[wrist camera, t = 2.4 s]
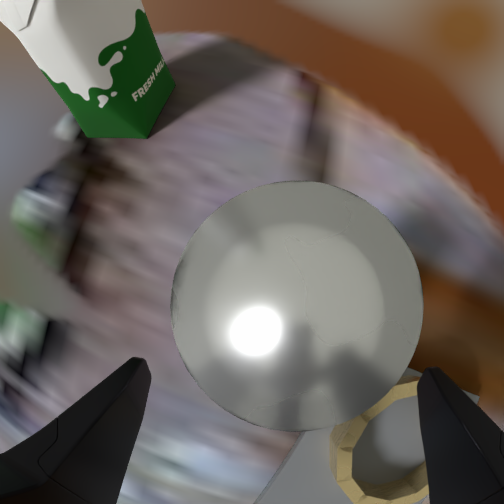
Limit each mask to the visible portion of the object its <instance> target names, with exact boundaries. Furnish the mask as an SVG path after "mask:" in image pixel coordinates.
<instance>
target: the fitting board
mask: <svg viewBox="0 0 504 504" xmlns="http://www.w3.org/2000/svg"><path fill="white" fill-rule="evenodd" d="M408 375H412V376H417V377H421V376H422V373H420V372H418V371H415V370H413V369H411V368H408V367H407V368H406V370H405V371H404V373H403V374H402V376H401V377H403V376H408ZM463 391H464V390H463ZM464 392H465V393H466V394H467V395H468V396H469V397H470V398H471V399H472V400H473V401H474V402H475V403H476V404H477V402H478V400H479V398H480V397H479V396H477V395H474V394H471V393H469V392H466V391H464ZM334 427H335V426H332V427H329V428H325V429H319V430H313V431H302V432H301V434H300V436H299V437H298V439H297V441H296V442H295V444H294V445H293V447H292V449H291V450H290V452H289V453H288V455H287V456H286V458H285V459H284V461H283V462H282V464H281V466H280V467H279V469H278V470H277V471H276V473H275V474H274V476H273V477H272V479H271V480H270V482H269V483H268V484H267V486H266V487H265V489H264V490H263V491H262V493H261V494H260V496H259V497H258V498H257V500H256V501H255V502H254V504H353V502H352V501H351V500H350V499H349V497H348V496H347V495H346V494H345V492H344V491H343V490H342V489H341V487H340V486H339V485H338V484H337V482H336V480H335V478H334V476H333V473H332V471H331V469H330V467H329V435H330V433H331V432H332V430H333V428H334ZM424 461H425V455H424V449H423V442H422V436H421V430H420V421H419V408H418V397H417V395H415V396H411V397H407V398H402V399H398V400H395V401H394V402H393V403H392V404H390V405H389V406H388V407H387V408H385V409H384V410H383V411H382V412H380V413H379V414H378V415H376V416H375V417H374V418H372V419H371V420H370V421H369V422H368V424H367V426H366V427H365V429H364V431H363V433H362V434H361V436H360V438H359V439H358V441H357V443H356V444H355V446H354V448H353V449H352V475H353V476H354V478H355V479H357V480H361V481H365V482H368V483H372V484H376V485H379V484H383V483H387V482H391V481H395V480H399V479H402V478H404V477H405V476H406V475H408V474H409V473H410V472H412V471H413V470H414V469H416V468H417V467H418V466H419V465H421V464H422V463H423V462H424ZM426 497H427V495H426V496H425V497H424V498H423V499H421V500H420V501H418V502H415V503H412V504H422V502H423V501H424V499H425V498H426Z"/></svg>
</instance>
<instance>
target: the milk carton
mask: <svg viewBox="0 0 504 504" xmlns="http://www.w3.org/2000/svg"><path fill="white" fill-rule="evenodd" d="M0 21H1V22H2V23H3V24H4V25H5V26H7V27H8V28H9V29H10V30H11V31H12V32H13V33H14V34H15V35H16V36H17V37H18V39H19V40H20V41H21V43H22V44H23V45H24V47H25V48H26V50H27V51H28V52H29V54H30V56H31V57H32V58H33V60H34V61H35V62H36V64H37V65H38V67H39V68H40V70H41V71H42V72H43V74H44V75H45V76H46V78H47V79H48V81H49V82H50V83H51V85H52V86H53V87H54V89H55V90H56V91H57V93H58V94H59V95H60V97H61V98H62V99H63V101H64V102H65V103H66V105H67V106H68V108H69V109H70V111H71V112H72V114H73V116H74V117H75V119H76V120H77V122H78V124H79V125H80V127H81V128H82V130H83V131H84V133H85V134H86V136H87V137H88V138H142V139H147V137H148V135H149V133H150V131H151V129H152V127H153V125H154V123H155V122H156V120H157V118H158V116H159V114H160V112H161V110H162V108H163V107H164V105H165V103H166V101H167V99H168V97H169V96H170V94H171V92H172V90H173V89H174V87H175V82H174V80H173V78H172V76H171V74H170V72H169V70H168V68H167V65H166V63H165V61H164V59H163V57H162V55H161V53H160V50H159V48H158V45H157V43H156V40H155V37H154V35H153V32H152V29H151V27H150V24H149V21H148V19H147V16H146V13H145V11H144V8H143V5H142V3H141V0H0Z"/></svg>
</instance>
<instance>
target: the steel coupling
mask: <svg viewBox="0 0 504 504" xmlns="http://www.w3.org/2000/svg"><path fill="white" fill-rule="evenodd" d="M170 309H171V324H172V329H173V334H174V338H175V342H176V345H177V348H178V350H179V353H180V356H181V358H182V360H183V362H184V364H185V366H186V368H187V370H188V372H189V373H190V374H191V376H192V377H193V379H194V380H195V382H196V383H197V384H198V386H199V387H200V388H201V389H202V390H203V391H204V392H205V393H206V394H207V395H208V396H209V397H210V398H211V399H212V400H213V401H214V402H216V403H217V404H218V405H219V406H221V407H222V408H223V409H224V410H226V411H228V412H229V413H231V414H233V415H234V416H236V417H238V418H240V419H242V420H244V421H247V422H249V423H252V424H254V425H257V426H260V427H264V428H268V429H272V430H280V431H288V432H301V431H313V430H319V429H325V428H329V427H332V426H335V425H338V424H341V423H344V422H346V421H348V420H350V419H353V418H355V417H357V416H359V415H360V414H362V413H363V412H365V411H366V410H368V409H369V408H371V407H372V406H374V405H375V404H376V403H377V402H379V401H380V400H381V399H382V398H383V397H384V396H385V395H386V394H387V393H388V392H389V391H390V390H391V389H392V388H393V387H394V385H395V384H396V383H397V382H398V380H399V379H400V377H401V376H402V374H403V373H404V371H405V370H406V368H407V367H408V365H409V363H410V360H411V358H412V356H413V354H414V352H415V349H416V346H417V343H418V340H419V337H420V332H421V326H422V321H423V291H422V284H421V280H420V275H419V271H418V268H417V265H416V262H415V259H414V257H413V255H412V253H411V251H410V249H409V247H408V245H407V243H406V241H405V240H404V238H403V237H402V235H401V234H400V232H399V231H398V230H397V228H396V227H395V226H394V225H393V224H392V223H391V221H390V220H389V219H388V218H387V217H386V216H385V215H384V214H382V213H381V212H380V211H379V210H378V209H377V208H376V207H374V206H373V205H371V204H370V203H368V202H367V201H366V200H364V199H362V198H361V197H359V196H357V195H355V194H353V193H351V192H349V191H346V190H344V189H341V188H338V187H336V186H332V185H328V184H324V183H319V182H311V181H284V182H276V183H271V184H267V185H263V186H259V187H257V188H254V189H251V190H249V191H246V192H244V193H242V194H240V195H238V196H236V197H234V198H232V199H231V200H229V201H228V202H226V203H225V204H223V205H222V206H221V207H219V208H218V209H217V210H216V211H215V212H213V213H212V214H211V215H210V216H209V217H208V218H207V219H206V220H205V221H204V222H203V223H202V224H201V226H200V227H199V228H198V229H197V230H196V232H195V233H194V235H193V236H192V238H191V239H190V241H189V242H188V244H187V245H186V247H185V249H184V251H183V253H182V256H181V258H180V260H179V263H178V266H177V269H176V272H175V275H174V280H173V285H172V290H171V304H170Z"/></svg>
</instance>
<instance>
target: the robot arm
mask: <svg viewBox="0 0 504 504" xmlns="http://www.w3.org/2000/svg"><path fill="white" fill-rule="evenodd" d="M150 384H151V373H150V370H149V368H148V365H147V362H146V360H145V359H143V358H138V357H132V358H130V359H129V360H128V361H127V362H126V363H124V364H123V365H122V366H121V367H119V368H118V369H117V370H116V371H114V372H113V373H112V374H111V375H109V376H108V377H107V378H106V379H104V380H103V381H102V382H101V383H99V384H98V385H97V386H96V387H94V388H93V389H92V390H91V391H89V392H88V393H87V394H86V395H84V396H83V397H82V398H81V399H79V400H78V401H77V402H76V403H74V404H73V405H72V406H71V407H69V408H68V409H67V410H65V411H64V412H63V413H62V414H60V415H59V416H58V418H55V419H54V420H53V421H52V422H50V423H49V424H48V425H46V426H45V427H44V428H42V429H41V430H40V431H38V432H37V433H35V434H34V435H32V436H31V437H29V438H27V439H26V440H24V441H22V442H21V443H19V444H18V445H16V446H14V447H13V448H11V449H9V450H8V451H6V452H4V453H2V454H0V504H116V503H117V499H118V496H119V493H120V489H121V486H122V483H123V479H124V476H125V473H126V470H127V466H128V463H129V460H130V457H131V454H132V451H133V448H134V444H135V441H136V438H137V435H138V432H139V429H140V426H141V423H142V420H143V416H144V411H145V407H146V402H147V397H148V393H149V388H150ZM417 397H418V408H419V421H420V430H421V436H422V442H423V449H424V455H425V462H426V470H427V478H428V487H429V498H430V504H504V432H503V431H502V430H501V429H500V428H499V427H498V426H497V425H496V424H495V423H494V422H493V421H492V420H491V419H490V418H489V417H488V415H487V414H486V413H485V412H484V411H483V410H482V409H481V408H480V407H479V406H478V405H477V404H476V403H475V402H474V401H473V400H472V399H471V398H470V397H469V396H468V395H467V394H466V393H465V392H464V391H463V390H462V389H461V388H460V387H458V386H457V385H456V384H455V383H454V382H453V381H452V380H451V379H450V378H449V377H448V376H447V375H446V374H445V373H444V372H443V371H442V370H441V369H440V368H439V367H428V368H426V369H425V370H424V372H423V374H422V376H421V378H420V379H419V381H418V383H417Z"/></svg>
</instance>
